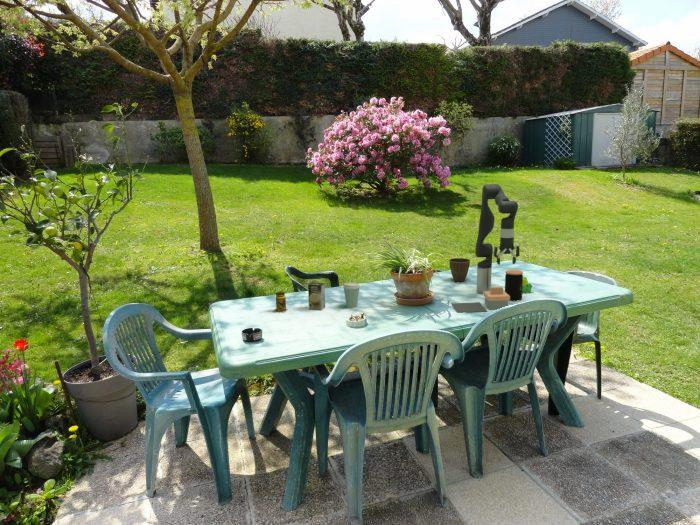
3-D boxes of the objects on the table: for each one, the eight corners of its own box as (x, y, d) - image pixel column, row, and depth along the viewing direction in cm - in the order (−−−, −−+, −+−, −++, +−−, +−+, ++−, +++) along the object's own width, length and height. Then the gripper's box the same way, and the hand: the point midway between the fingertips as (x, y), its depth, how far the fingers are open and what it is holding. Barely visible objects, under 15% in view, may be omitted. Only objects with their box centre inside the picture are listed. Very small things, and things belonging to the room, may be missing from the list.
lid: (483, 295, 311) (483, 285, 310) (503, 294, 311) (503, 284, 310) (488, 300, 299) (489, 290, 298) (509, 300, 299) (510, 289, 298)
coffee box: (308, 309, 313) (307, 284, 310) (312, 306, 319) (311, 281, 315) (322, 310, 310) (320, 285, 307) (325, 307, 316) (324, 282, 312)
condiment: (284, 312, 308) (282, 294, 305) (271, 312, 310) (270, 293, 308) (288, 309, 315) (287, 290, 312) (276, 308, 317) (275, 290, 315)
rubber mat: (451, 303, 314) (451, 303, 314) (479, 302, 314) (479, 302, 314) (457, 312, 297) (457, 312, 296) (487, 311, 297) (487, 311, 296)
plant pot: (471, 283, 359) (472, 262, 356) (451, 284, 360) (451, 262, 356) (467, 278, 374) (467, 257, 371) (447, 279, 374) (447, 258, 371)
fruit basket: (529, 290, 338) (530, 274, 336) (532, 294, 330) (533, 277, 327) (512, 290, 339) (512, 274, 337) (515, 294, 331) (515, 277, 328)
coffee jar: (523, 301, 314) (524, 273, 310) (505, 301, 316) (506, 273, 312) (520, 296, 324) (522, 269, 320) (503, 296, 326) (504, 269, 322)
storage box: (484, 303, 312) (485, 293, 310) (502, 303, 312) (502, 292, 310) (489, 309, 301) (489, 298, 299) (507, 308, 301) (508, 297, 299)
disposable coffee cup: (352, 302, 324) (351, 280, 321) (364, 305, 316) (363, 282, 313) (340, 306, 316) (339, 283, 313) (352, 309, 309) (351, 286, 306)
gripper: (517, 234, 288) (516, 262, 291) (492, 235, 288) (491, 263, 291) (521, 236, 280) (520, 265, 284) (496, 237, 280) (495, 266, 284)
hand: (506, 264), depth 287 cm, fingers open, 8 cm apart
